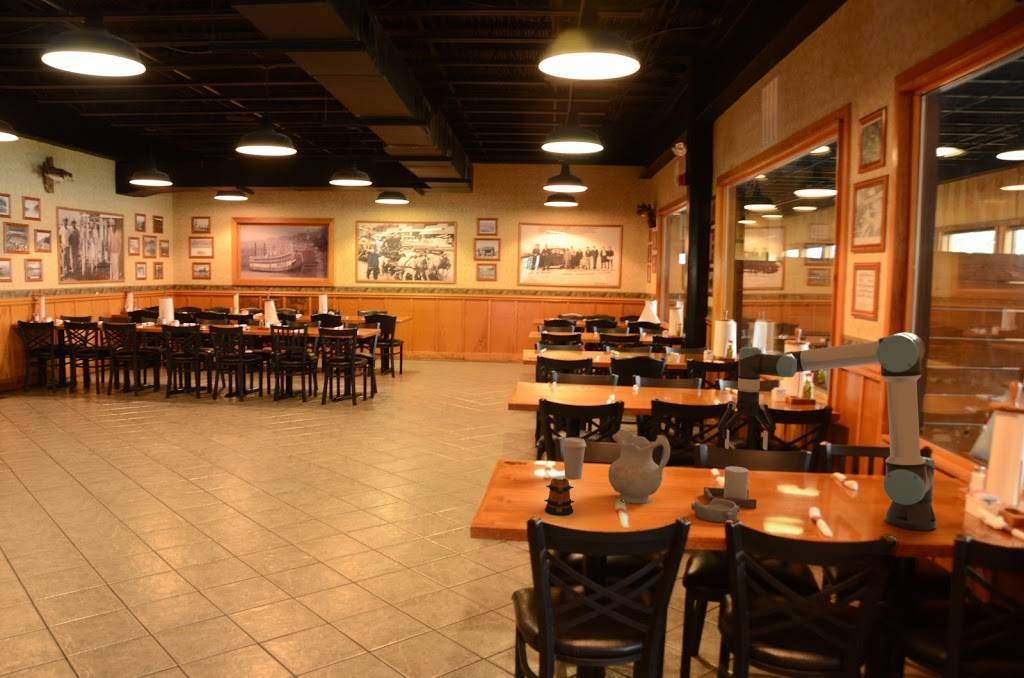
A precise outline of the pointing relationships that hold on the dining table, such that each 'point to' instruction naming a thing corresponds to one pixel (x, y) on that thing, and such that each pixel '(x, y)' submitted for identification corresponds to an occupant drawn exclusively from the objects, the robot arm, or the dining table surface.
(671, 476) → the dining table surface
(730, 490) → the cup
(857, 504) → the dining table surface
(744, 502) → the u rest
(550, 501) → the brown tiered piece
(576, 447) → the coffee cup
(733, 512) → the dish
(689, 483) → the dining table surface
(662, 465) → the ceramic pitcher
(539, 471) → the dining table surface
